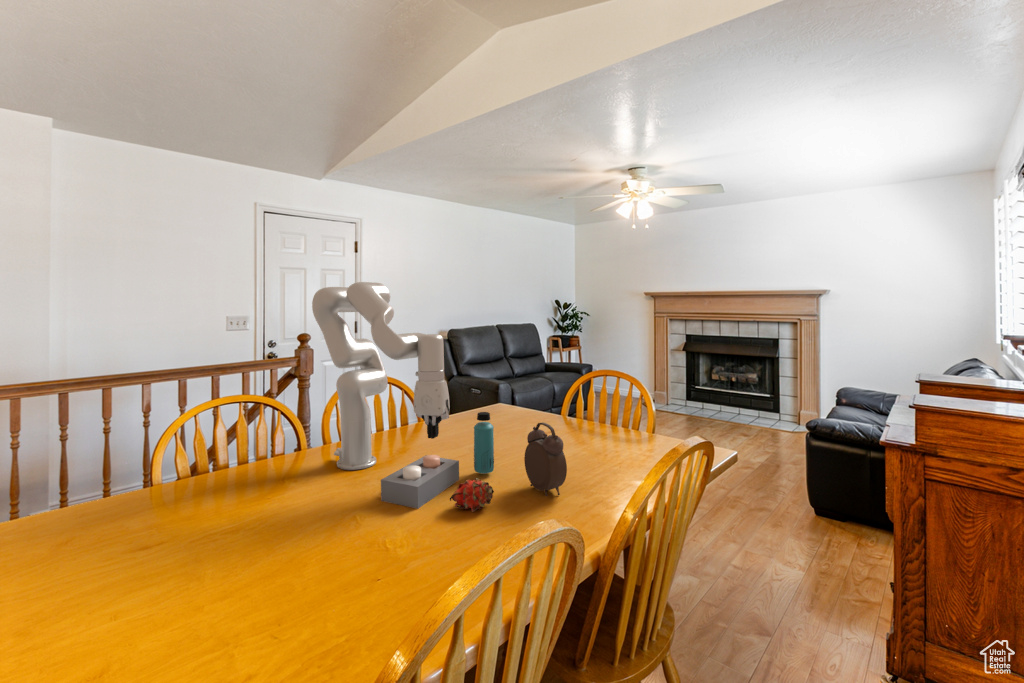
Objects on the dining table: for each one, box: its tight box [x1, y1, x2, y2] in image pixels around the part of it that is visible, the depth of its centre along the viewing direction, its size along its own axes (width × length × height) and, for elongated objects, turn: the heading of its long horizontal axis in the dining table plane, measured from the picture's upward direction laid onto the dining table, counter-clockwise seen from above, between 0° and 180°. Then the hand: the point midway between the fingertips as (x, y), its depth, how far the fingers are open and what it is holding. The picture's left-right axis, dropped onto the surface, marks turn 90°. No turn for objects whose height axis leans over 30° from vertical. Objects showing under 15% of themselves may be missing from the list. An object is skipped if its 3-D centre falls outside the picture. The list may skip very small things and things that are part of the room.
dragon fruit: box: [449, 477, 495, 513], centre depth 125 cm, size 8×8×12 cm
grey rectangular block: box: [380, 455, 460, 510], centre depth 137 cm, size 12×22×6 cm, turn 157°
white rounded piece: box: [402, 465, 421, 481], centre depth 132 cm, size 5×5×4 cm
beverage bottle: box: [473, 411, 495, 474], centre depth 148 cm, size 6×7×20 cm
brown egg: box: [422, 454, 441, 469], centre depth 141 cm, size 5×5×4 cm
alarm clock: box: [523, 422, 568, 497], centre depth 136 cm, size 14×7×20 cm, turn 30°
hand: (433, 437), depth 140 cm, fingers closed
